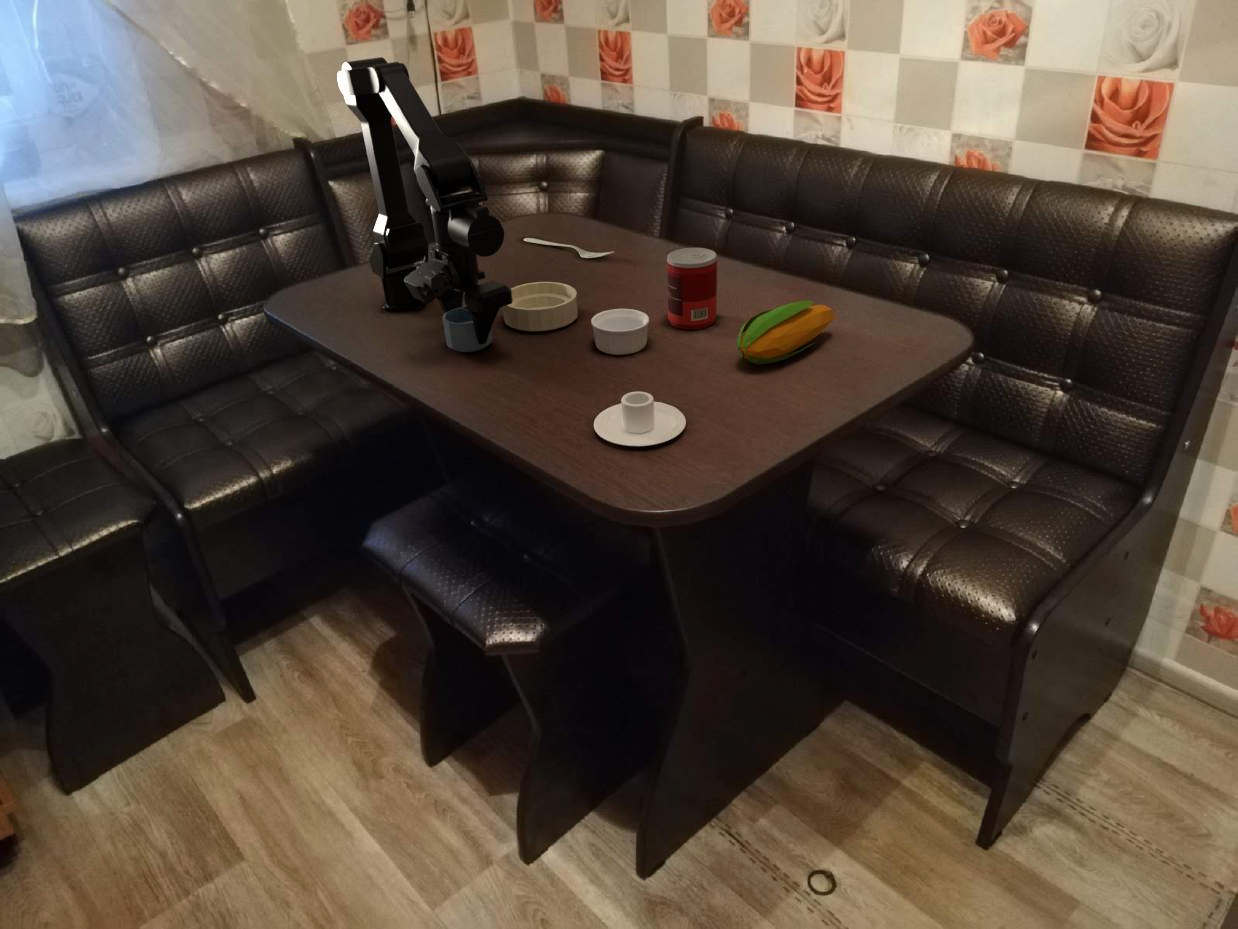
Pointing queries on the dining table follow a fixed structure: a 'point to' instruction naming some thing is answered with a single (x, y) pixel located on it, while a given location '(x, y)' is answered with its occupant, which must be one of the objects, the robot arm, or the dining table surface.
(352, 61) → the robot arm
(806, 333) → the corn
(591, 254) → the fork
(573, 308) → the cream bowl
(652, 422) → the candle holder
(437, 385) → the dining table surface
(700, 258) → the canned food
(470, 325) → the slate bowl
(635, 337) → the ramekin
